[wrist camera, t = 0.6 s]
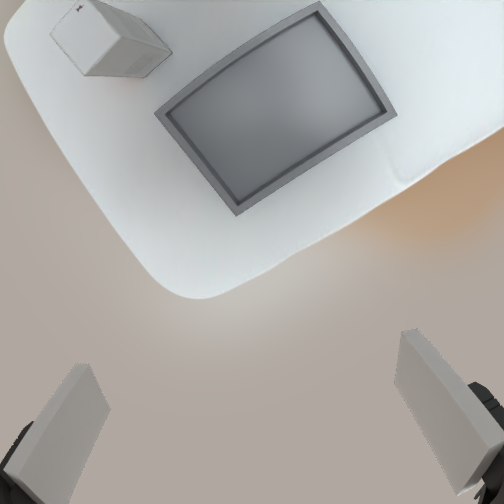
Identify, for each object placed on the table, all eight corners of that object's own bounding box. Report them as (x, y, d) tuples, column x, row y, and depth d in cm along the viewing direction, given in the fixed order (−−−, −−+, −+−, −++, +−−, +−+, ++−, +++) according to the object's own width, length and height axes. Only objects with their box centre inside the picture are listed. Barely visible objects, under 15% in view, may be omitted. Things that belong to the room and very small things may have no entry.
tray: (316, 6, 23) (319, 0, 21) (389, 113, 28) (397, 115, 26) (161, 112, 29) (153, 113, 27) (238, 209, 34) (236, 216, 32)
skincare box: (114, 45, 25) (47, 33, 15) (142, 19, 24) (83, -8, 13) (144, 80, 27) (82, 78, 17) (174, 53, 26) (123, 35, 15)
